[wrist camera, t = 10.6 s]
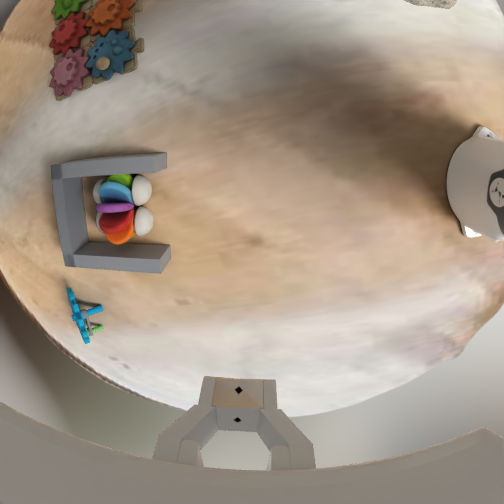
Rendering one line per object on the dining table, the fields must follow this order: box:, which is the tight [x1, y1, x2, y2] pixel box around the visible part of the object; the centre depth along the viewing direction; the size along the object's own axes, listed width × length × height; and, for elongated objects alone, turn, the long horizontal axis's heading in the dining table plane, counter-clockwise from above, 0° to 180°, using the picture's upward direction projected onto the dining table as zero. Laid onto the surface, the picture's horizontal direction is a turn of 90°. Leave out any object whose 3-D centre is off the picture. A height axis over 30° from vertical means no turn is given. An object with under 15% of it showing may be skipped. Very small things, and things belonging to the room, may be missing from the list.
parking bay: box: [51, 153, 171, 274], centre depth 36 cm, size 16×15×5 cm
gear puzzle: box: [49, 0, 144, 101], centre depth 24 cm, size 31×16×4 cm, turn 7°
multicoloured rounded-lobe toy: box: [93, 174, 153, 245], centre depth 35 cm, size 8×10×7 cm
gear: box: [67, 288, 103, 344], centre depth 43 cm, size 11×6×10 cm
